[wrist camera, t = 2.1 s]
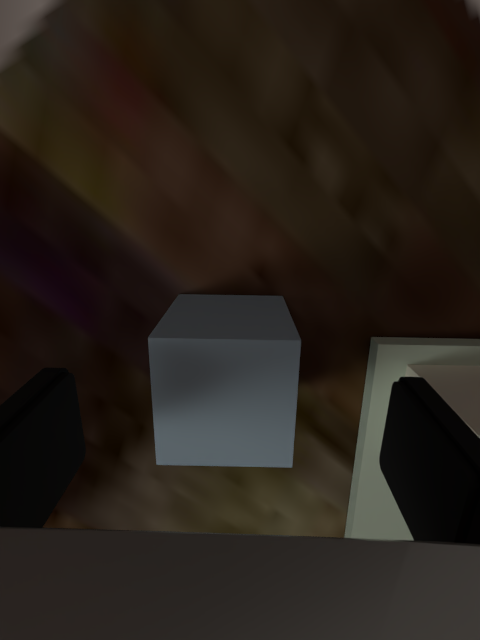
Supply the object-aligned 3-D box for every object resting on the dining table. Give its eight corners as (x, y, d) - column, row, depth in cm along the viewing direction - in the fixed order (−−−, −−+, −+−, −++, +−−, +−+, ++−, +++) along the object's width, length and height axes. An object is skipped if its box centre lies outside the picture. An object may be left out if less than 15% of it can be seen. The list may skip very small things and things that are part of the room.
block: (277, 388, 19) (292, 467, 13) (182, 386, 19) (156, 465, 13) (282, 295, 18) (301, 340, 12) (179, 294, 18) (147, 338, 12)
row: (450, 631, 24) (528, 792, 18) (332, 628, 24) (364, 787, 18) (533, 339, 18) (703, 420, 11) (371, 336, 18) (445, 415, 11)
